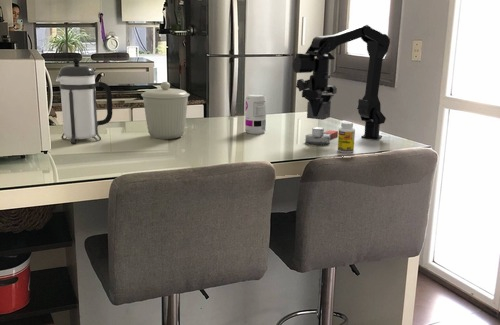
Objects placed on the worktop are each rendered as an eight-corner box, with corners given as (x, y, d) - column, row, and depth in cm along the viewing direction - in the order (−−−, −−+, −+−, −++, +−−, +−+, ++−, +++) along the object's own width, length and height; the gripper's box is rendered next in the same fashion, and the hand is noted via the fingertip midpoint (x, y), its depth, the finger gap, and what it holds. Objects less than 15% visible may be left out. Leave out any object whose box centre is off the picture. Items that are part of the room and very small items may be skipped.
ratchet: (322, 134, 220) (323, 120, 218) (344, 136, 215) (344, 123, 214) (301, 143, 202) (301, 128, 201) (323, 146, 198) (324, 131, 197)
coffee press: (93, 145, 194) (88, 59, 186) (52, 143, 197) (45, 58, 189) (114, 136, 210) (110, 56, 203) (76, 133, 213) (71, 55, 206)
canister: (132, 138, 207) (130, 82, 201) (161, 130, 222) (160, 78, 217) (171, 143, 199) (170, 85, 193) (199, 135, 214) (198, 81, 209)
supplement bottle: (335, 152, 190) (336, 123, 187) (340, 149, 194) (342, 120, 192) (350, 154, 187) (352, 124, 184) (355, 150, 192) (357, 122, 189)
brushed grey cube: (314, 115, 206) (314, 99, 205) (329, 117, 203) (330, 101, 202) (306, 118, 201) (307, 101, 199) (323, 119, 198) (323, 103, 196)
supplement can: (243, 133, 218) (243, 96, 215) (248, 129, 226) (248, 93, 222) (262, 134, 217) (263, 97, 213) (267, 131, 224) (268, 94, 221)
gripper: (310, 69, 209) (309, 109, 213) (289, 72, 194) (287, 116, 198) (338, 71, 204) (336, 112, 208) (318, 74, 188) (316, 119, 192)
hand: (318, 114), depth 202 cm, fingers closed on brushed grey cube, 6 cm apart
